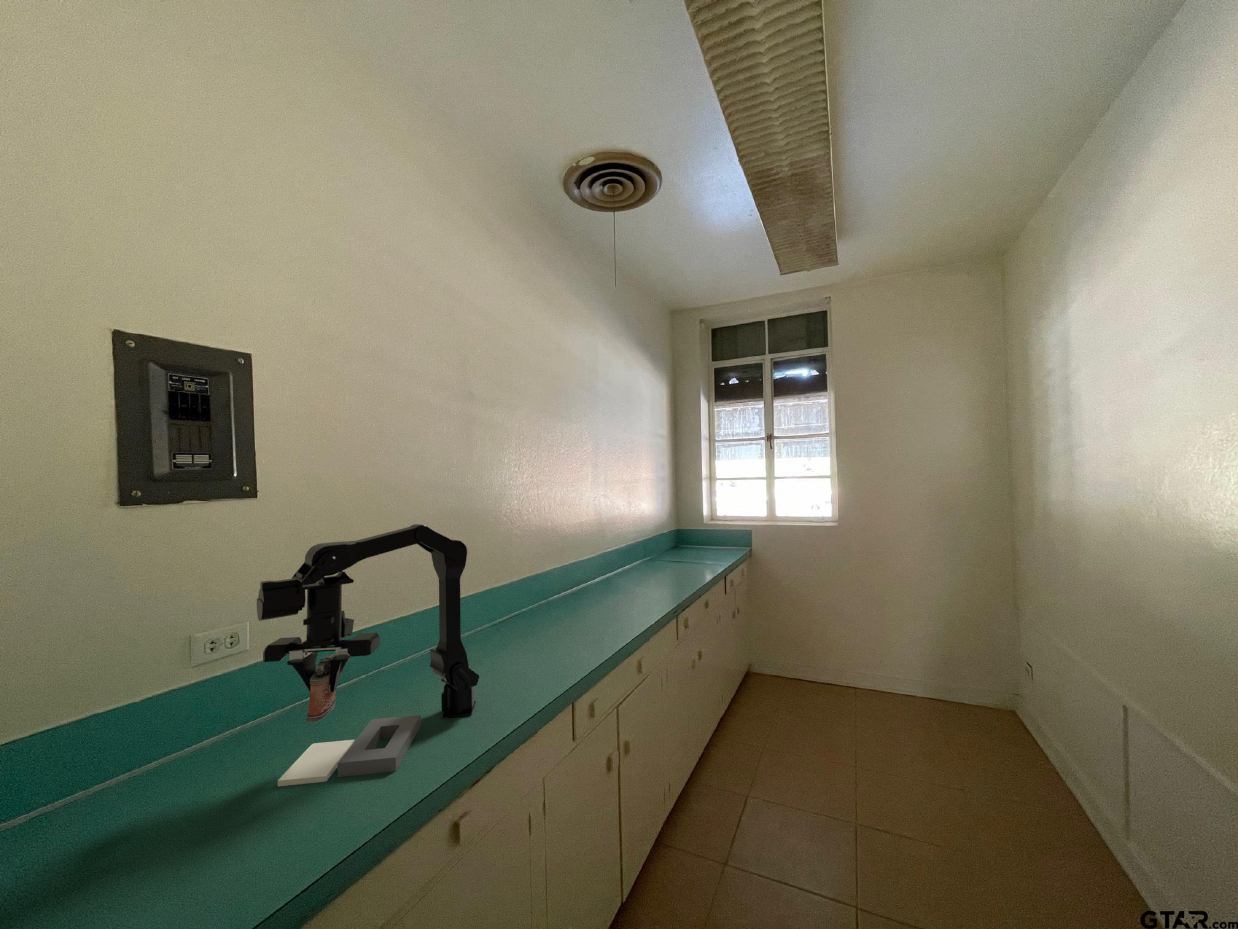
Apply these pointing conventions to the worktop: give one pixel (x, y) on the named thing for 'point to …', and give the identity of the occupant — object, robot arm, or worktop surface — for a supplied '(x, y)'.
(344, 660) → the robot arm
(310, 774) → the rubber mat
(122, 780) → the worktop surface
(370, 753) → the grey rectangular frame
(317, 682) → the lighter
